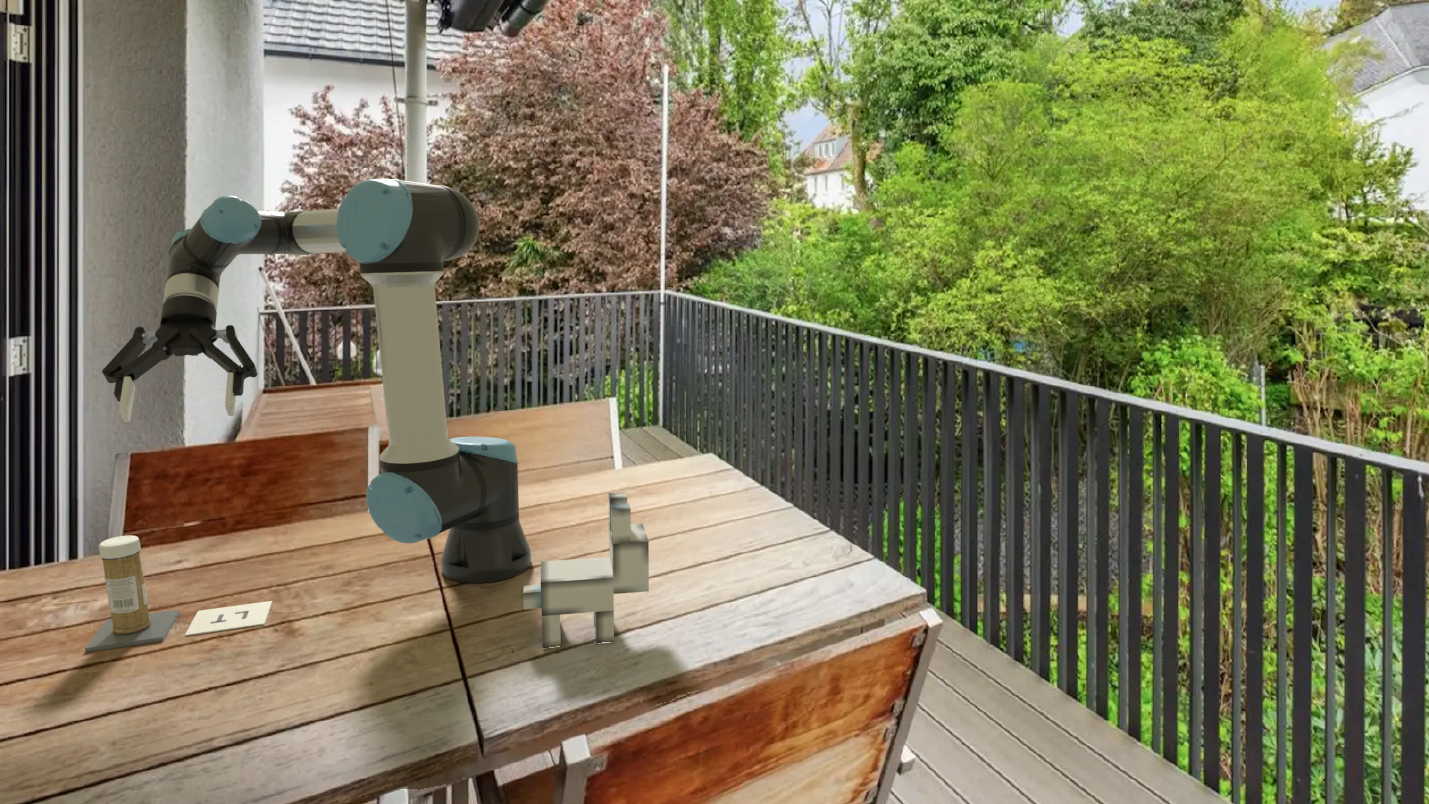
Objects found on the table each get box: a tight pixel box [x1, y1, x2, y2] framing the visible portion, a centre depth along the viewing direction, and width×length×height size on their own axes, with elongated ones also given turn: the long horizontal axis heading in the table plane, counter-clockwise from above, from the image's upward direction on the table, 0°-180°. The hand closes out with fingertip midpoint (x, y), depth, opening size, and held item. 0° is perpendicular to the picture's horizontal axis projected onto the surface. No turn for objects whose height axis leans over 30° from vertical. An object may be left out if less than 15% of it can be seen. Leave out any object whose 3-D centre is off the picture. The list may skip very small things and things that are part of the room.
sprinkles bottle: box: [98, 535, 151, 634], centre depth 111 cm, size 5×5×14 cm
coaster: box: [84, 609, 180, 653], centre depth 112 cm, size 9×9×1 cm
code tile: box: [184, 600, 273, 637], centre depth 117 cm, size 10×8×1 cm
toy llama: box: [522, 492, 650, 649], centre depth 112 cm, size 8×18×20 cm, turn 102°
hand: (178, 414), depth 118 cm, fingers open, 13 cm apart
